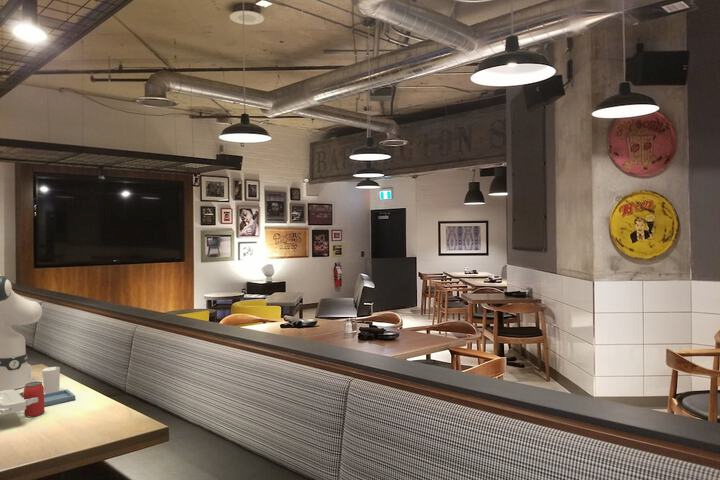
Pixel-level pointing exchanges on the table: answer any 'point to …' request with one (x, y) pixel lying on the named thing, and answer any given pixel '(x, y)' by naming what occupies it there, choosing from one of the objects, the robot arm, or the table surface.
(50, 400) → the slate tray
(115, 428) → the table surface
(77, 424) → the table surface
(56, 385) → the white coffee cup
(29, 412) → the beer can
